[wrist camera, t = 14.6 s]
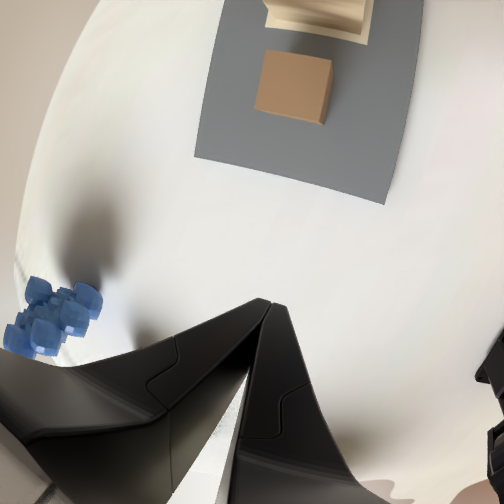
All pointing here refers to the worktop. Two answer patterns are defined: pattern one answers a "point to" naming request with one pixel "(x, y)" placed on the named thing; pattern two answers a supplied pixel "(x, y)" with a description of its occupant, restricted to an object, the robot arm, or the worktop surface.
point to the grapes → (51, 318)
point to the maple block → (320, 13)
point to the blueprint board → (351, 106)
